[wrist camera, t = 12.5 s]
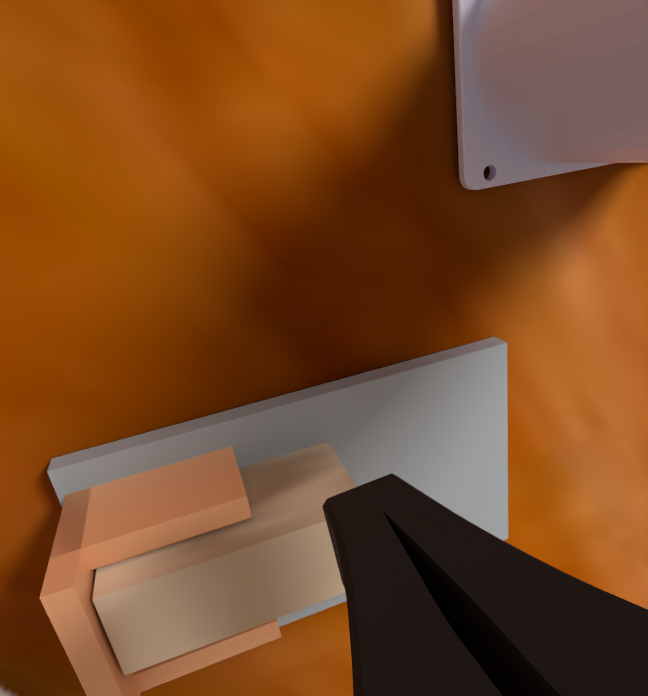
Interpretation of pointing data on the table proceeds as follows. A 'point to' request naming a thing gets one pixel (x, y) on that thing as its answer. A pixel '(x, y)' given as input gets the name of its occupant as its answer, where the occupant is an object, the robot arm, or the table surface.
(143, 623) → the beige rectangular block
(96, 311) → the table surface
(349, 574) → the robot arm
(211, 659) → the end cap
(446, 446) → the board
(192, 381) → the table surface
